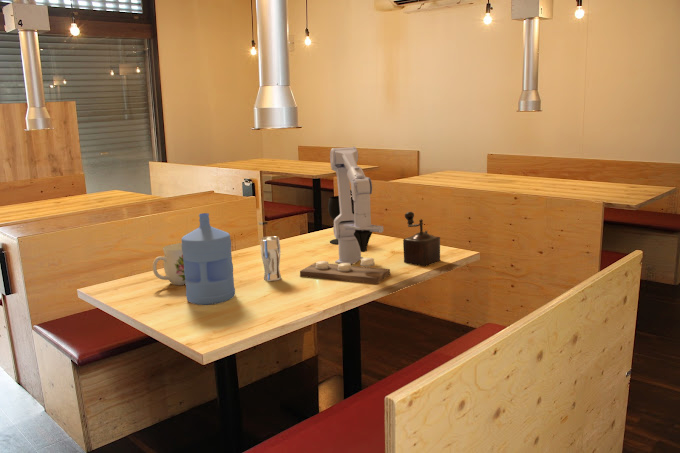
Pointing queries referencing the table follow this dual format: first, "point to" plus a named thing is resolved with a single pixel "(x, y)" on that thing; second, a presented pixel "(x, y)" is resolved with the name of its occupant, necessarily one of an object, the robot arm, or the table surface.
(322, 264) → the knob
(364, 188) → the robot arm
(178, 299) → the table surface
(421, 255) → the manual coffee grinder
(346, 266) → the knob
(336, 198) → the wine glass
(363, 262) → the knob
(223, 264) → the water jug
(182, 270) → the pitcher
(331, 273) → the wooden board with recesses
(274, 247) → the beer glass
